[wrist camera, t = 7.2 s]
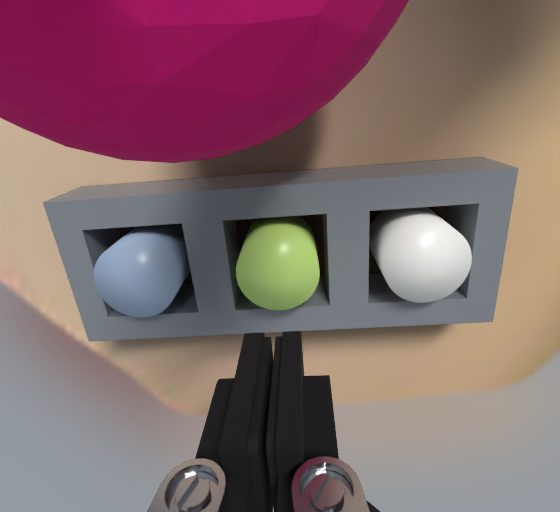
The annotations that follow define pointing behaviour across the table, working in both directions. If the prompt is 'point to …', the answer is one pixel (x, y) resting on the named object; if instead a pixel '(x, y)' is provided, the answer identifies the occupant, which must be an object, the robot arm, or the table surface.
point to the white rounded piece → (419, 253)
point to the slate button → (143, 270)
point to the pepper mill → (179, 70)
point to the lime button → (278, 263)
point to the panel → (279, 203)
